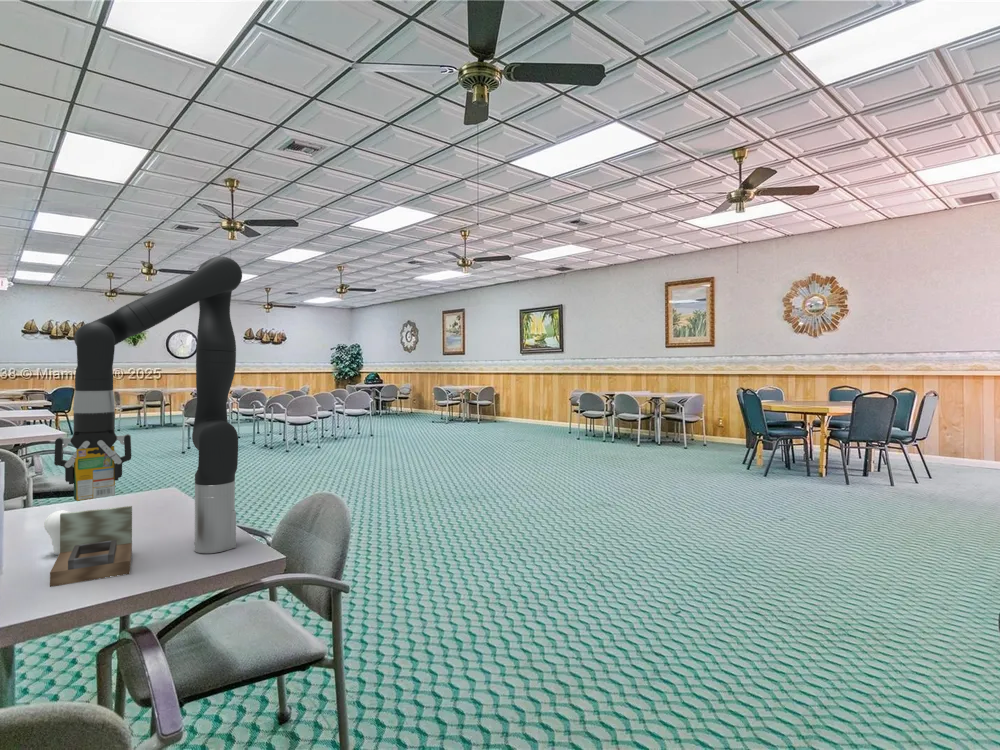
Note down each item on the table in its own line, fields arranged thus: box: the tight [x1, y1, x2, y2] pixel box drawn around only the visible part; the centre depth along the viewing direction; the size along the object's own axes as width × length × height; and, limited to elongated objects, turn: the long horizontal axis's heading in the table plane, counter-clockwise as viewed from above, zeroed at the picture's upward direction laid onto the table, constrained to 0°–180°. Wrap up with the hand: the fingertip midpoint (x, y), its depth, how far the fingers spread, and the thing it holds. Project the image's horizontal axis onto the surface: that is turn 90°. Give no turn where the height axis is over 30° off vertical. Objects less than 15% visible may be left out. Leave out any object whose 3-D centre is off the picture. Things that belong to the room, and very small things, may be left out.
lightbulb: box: [43, 509, 70, 556], centre depth 135 cm, size 6×6×11 cm
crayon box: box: [73, 445, 116, 502], centre depth 124 cm, size 7×3×12 cm, turn 139°
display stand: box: [49, 505, 133, 588], centre depth 126 cm, size 14×16×12 cm
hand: (94, 481), depth 124 cm, fingers closed on crayon box, 8 cm apart
